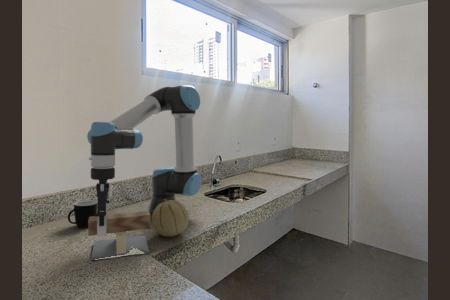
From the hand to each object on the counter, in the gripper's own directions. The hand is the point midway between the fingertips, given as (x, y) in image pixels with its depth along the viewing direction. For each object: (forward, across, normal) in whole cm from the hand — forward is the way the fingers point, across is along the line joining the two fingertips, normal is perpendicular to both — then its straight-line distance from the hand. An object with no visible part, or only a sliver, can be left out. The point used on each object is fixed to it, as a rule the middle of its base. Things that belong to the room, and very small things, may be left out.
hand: (102, 227), depth 92 cm
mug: (+8, -28, -9) cm, 31 cm away
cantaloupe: (+8, -7, +25) cm, 27 cm away
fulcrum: (+8, 0, +6) cm, 10 cm away
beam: (+1, 0, +6) cm, 6 cm away
